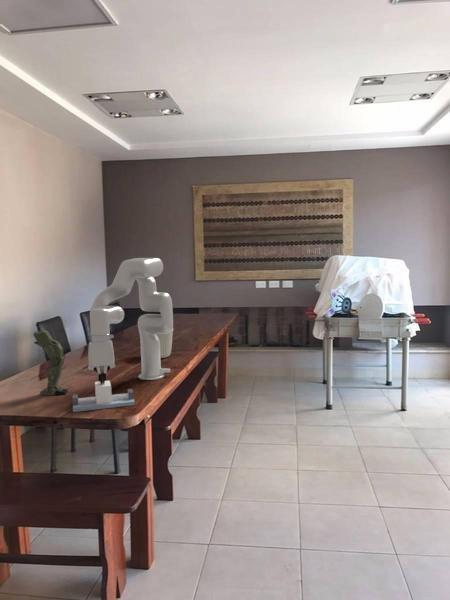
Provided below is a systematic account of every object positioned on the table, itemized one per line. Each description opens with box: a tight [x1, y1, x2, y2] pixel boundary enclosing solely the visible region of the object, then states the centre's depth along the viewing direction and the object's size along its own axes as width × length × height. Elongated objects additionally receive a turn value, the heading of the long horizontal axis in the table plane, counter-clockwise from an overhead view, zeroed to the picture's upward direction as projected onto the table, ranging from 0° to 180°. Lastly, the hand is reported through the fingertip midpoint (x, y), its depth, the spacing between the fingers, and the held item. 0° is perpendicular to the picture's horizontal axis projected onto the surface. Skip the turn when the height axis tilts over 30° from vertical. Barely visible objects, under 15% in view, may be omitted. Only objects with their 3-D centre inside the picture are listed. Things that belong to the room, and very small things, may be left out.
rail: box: [72, 388, 135, 407], centre depth 196 cm, size 24×5×3 cm, turn 107°
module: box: [94, 380, 113, 404], centre depth 196 cm, size 6×8×8 cm
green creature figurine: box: [32, 329, 69, 396], centre depth 212 cm, size 14×7×30 cm, turn 92°
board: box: [72, 398, 136, 413], centre depth 196 cm, size 24×12×2 cm, turn 107°
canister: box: [156, 328, 174, 359], centre depth 284 cm, size 18×18×21 cm
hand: (102, 382), depth 195 cm, fingers closed
